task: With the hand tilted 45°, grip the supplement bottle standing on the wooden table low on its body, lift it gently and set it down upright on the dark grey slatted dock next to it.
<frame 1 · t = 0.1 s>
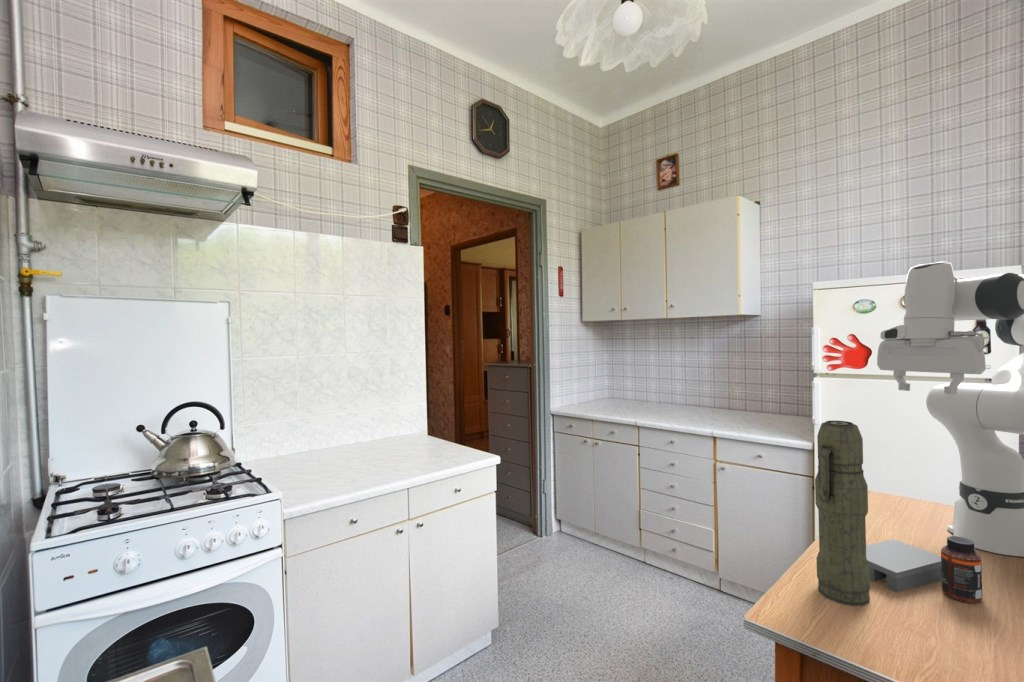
hand: (926, 392, 110), 39 cm above the table, tool pointing down, fingers open, 8 cm apart
dock: (895, 572, 105), on the table
thermos: (843, 595, 97), on the table
supplement bottle: (961, 597, 95), on the table
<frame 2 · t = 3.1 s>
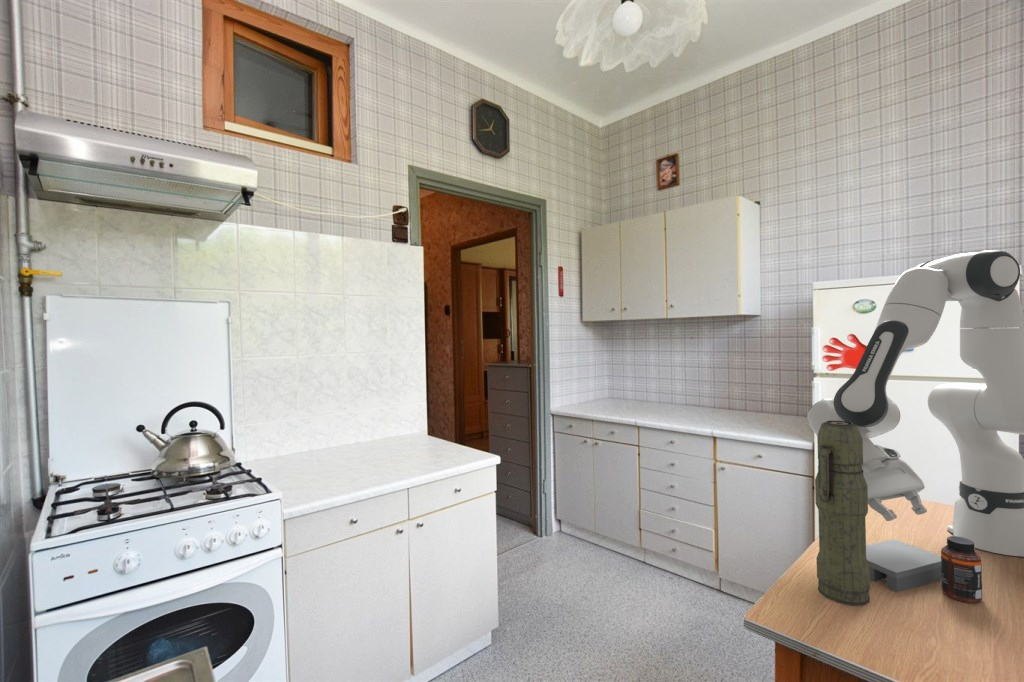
hand: (907, 516, 104), 13 cm above the table, tool tilted 45°, fingers open, 8 cm apart
nothing on the table moved.
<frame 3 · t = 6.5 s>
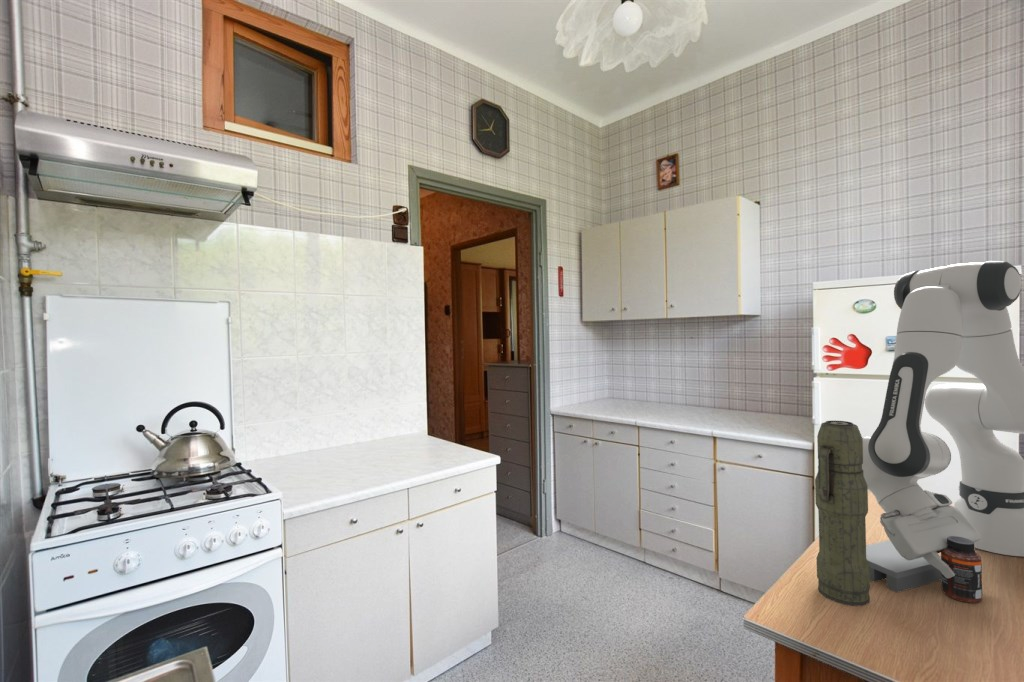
hand: (965, 573, 95), 5 cm above the table, tool tilted 45°, fingers closed on supplement bottle, 6 cm apart
supplement bottle: (961, 597, 95), on the table, touching gripper
everything else where it was.
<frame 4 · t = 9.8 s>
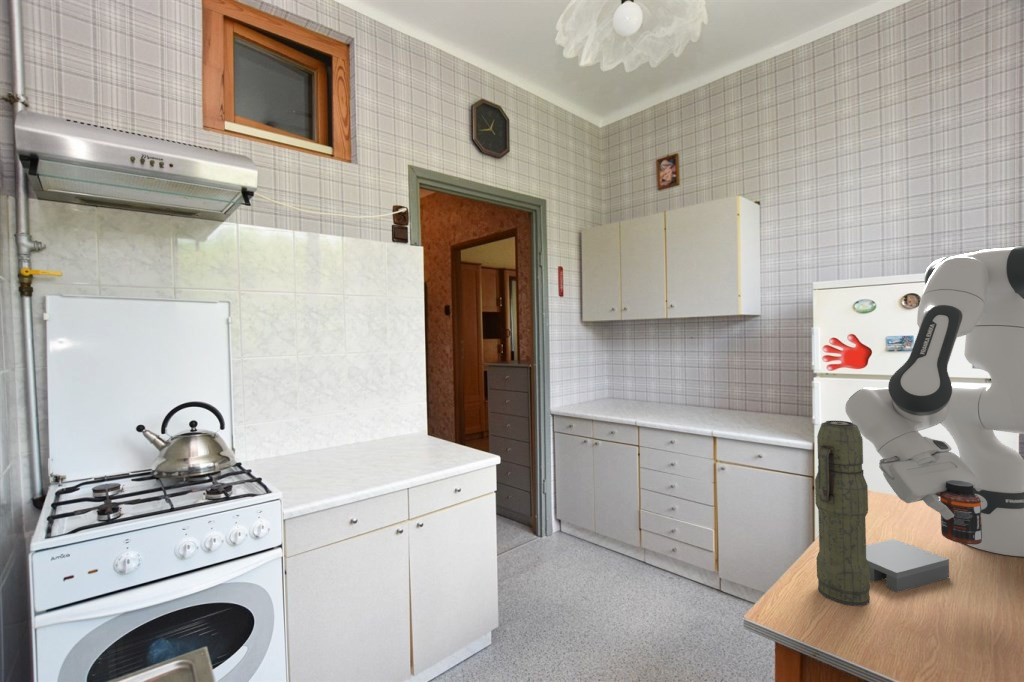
hand: (964, 515, 95), 16 cm above the table, tool tilted 45°, fingers closed on supplement bottle, 6 cm apart
supplement bottle: (961, 540, 95), point 11 cm above the table, touching gripper
everything else where it was.
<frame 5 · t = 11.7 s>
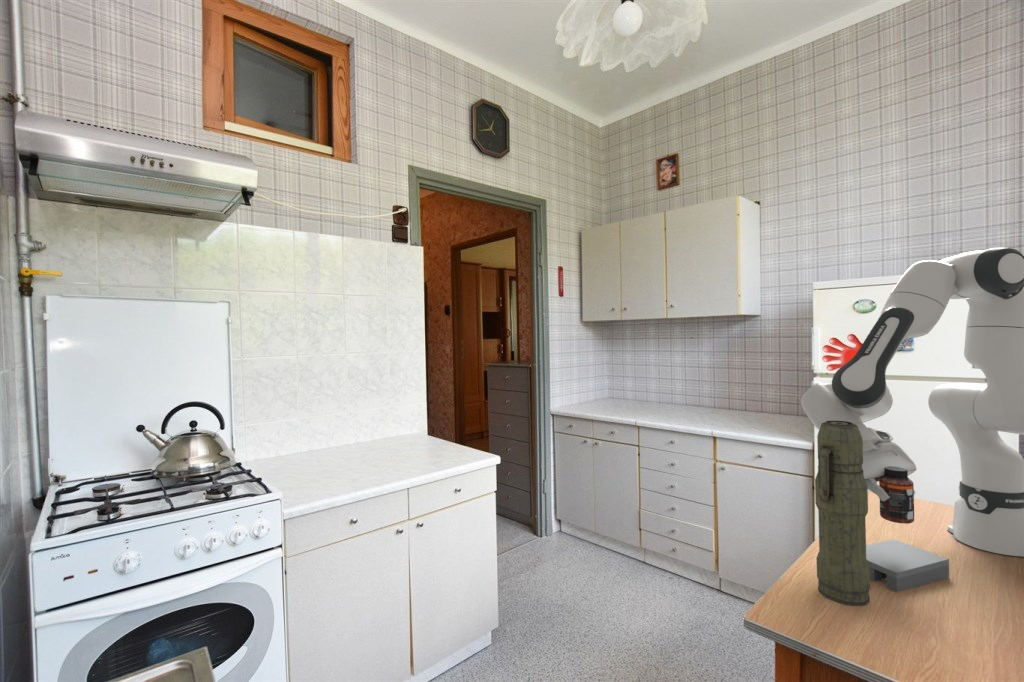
hand: (899, 497, 105), 17 cm above the table, tool tilted 45°, fingers closed on supplement bottle, 6 cm apart
supplement bottle: (896, 520, 105), point 11 cm above the table, touching gripper
everything else where it was.
when the fingers open (10 cm above the table, at t = 13.5 s): supplement bottle drops 1 cm, resting on dock.
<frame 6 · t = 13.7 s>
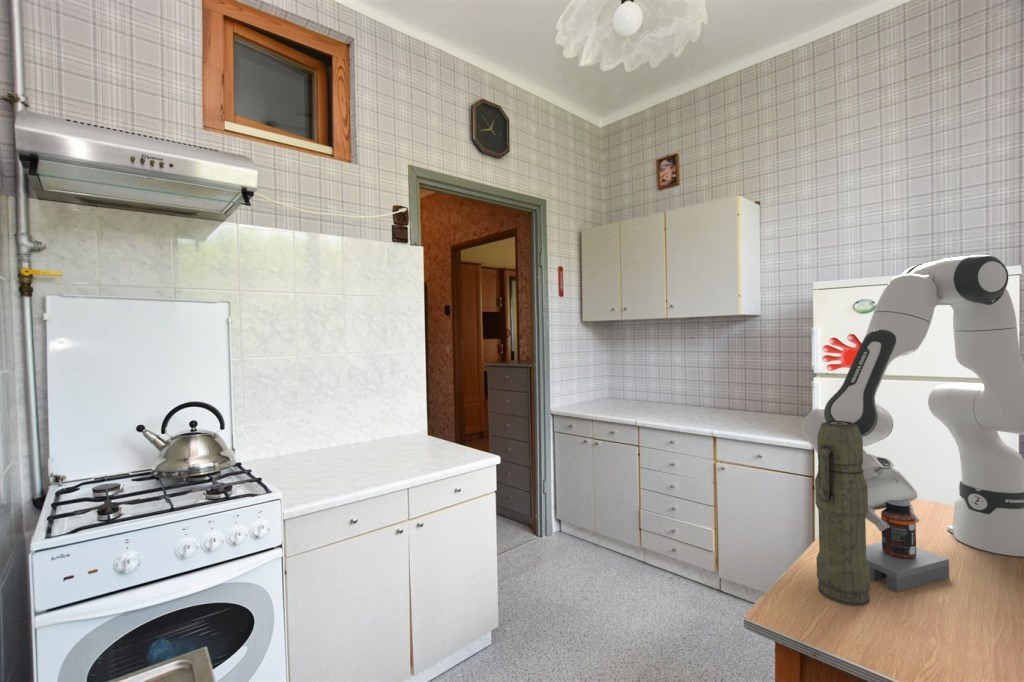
hand: (900, 526, 105), 10 cm above the table, tool tilted 45°, fingers open, 8 cm apart
supplement bottle: (899, 554, 105), point 4 cm above the table, touching dock
everything else where it was.
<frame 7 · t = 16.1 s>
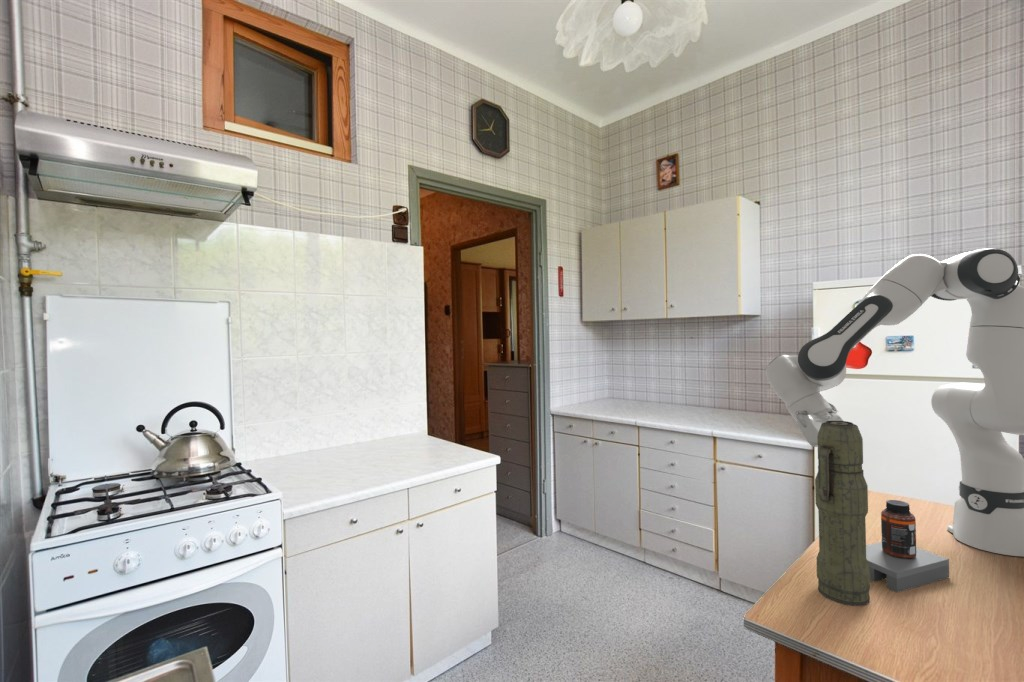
hand: (847, 460, 117), 22 cm above the table, tool tilted 40°, fingers open, 8 cm apart
nothing on the table moved.
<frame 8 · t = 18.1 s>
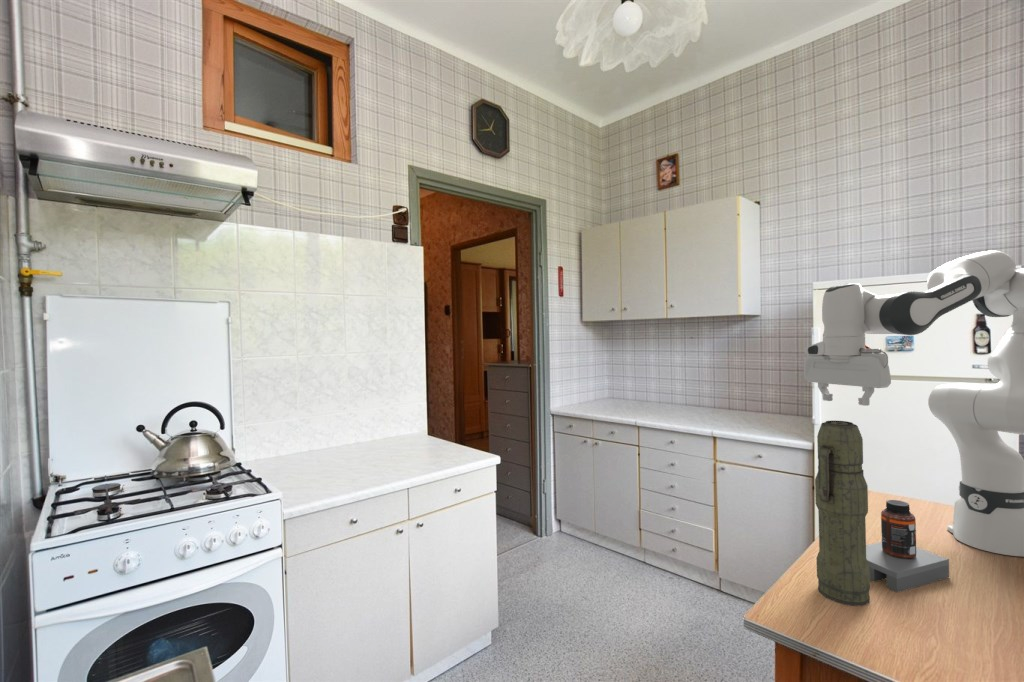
hand: (845, 402, 121), 35 cm above the table, tool pointing down, fingers open, 8 cm apart
nothing on the table moved.
at the end: supplement bottle inside the target area on the dock (1.2 cm from its centre), point 3.8 cm above the dock's base; supplement bottle tilted 0°; the gripper is holding nothing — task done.
